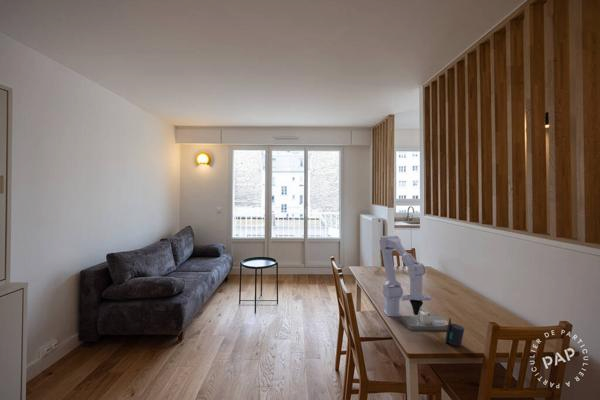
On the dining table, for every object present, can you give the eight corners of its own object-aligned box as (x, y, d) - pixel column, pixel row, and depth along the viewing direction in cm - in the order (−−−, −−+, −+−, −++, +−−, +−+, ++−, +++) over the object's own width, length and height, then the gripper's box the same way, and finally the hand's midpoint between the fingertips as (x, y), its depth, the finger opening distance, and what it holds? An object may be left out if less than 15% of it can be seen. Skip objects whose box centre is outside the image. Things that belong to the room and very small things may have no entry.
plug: (419, 323, 158) (419, 311, 158) (427, 323, 158) (427, 311, 158) (422, 327, 154) (423, 314, 154) (430, 327, 154) (430, 314, 154)
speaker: (441, 342, 138) (444, 320, 137) (445, 338, 142) (448, 317, 141) (458, 350, 133) (462, 327, 132) (463, 346, 137) (466, 323, 136)
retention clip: (417, 315, 163) (417, 305, 163) (421, 315, 163) (421, 305, 163) (427, 324, 152) (427, 313, 152) (431, 324, 152) (431, 313, 152)
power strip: (400, 319, 163) (400, 314, 163) (440, 319, 164) (440, 314, 164) (410, 330, 150) (410, 324, 150) (453, 330, 151) (453, 325, 151)
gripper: (404, 290, 149) (404, 317, 149) (434, 290, 149) (433, 317, 149) (399, 285, 156) (399, 312, 156) (427, 286, 156) (427, 312, 156)
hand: (415, 314), depth 153 cm, fingers closed
